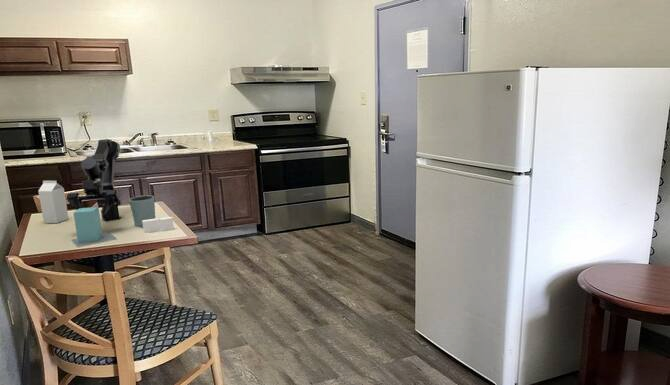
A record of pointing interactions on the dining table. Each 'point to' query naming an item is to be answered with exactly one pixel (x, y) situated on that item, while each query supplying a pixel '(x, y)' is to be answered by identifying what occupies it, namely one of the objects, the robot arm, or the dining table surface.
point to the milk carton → (53, 202)
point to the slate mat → (104, 238)
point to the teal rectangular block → (88, 224)
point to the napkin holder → (158, 224)
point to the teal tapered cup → (142, 209)
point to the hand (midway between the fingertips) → (91, 215)
